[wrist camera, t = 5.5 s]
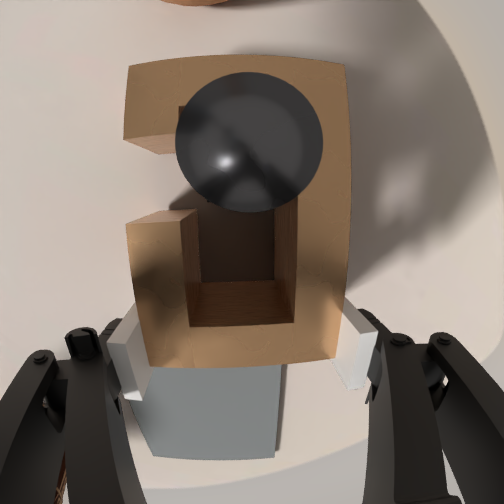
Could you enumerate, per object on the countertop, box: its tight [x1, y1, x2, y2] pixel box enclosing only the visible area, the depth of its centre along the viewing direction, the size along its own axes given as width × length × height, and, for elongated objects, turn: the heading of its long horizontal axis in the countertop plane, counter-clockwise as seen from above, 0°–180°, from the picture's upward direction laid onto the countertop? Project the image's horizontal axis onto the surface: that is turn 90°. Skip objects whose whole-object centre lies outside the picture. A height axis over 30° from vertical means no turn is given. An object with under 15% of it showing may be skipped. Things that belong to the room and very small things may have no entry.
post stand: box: [175, 72, 323, 212], centre depth 9 cm, size 3×3×10 cm
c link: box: [123, 55, 351, 368], centre depth 11 cm, size 12×8×5 cm, turn 1°
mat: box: [128, 365, 281, 460], centre depth 17 cm, size 14×11×1 cm
